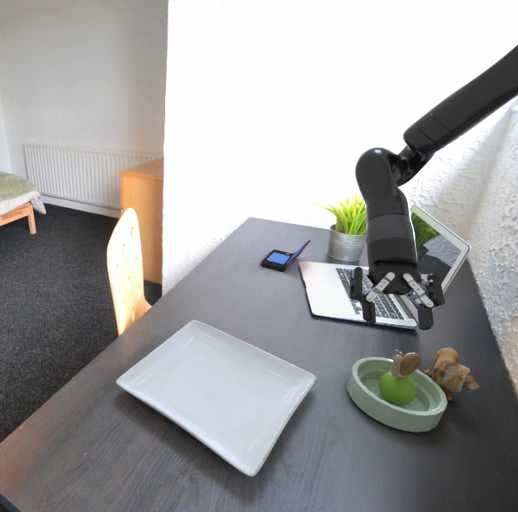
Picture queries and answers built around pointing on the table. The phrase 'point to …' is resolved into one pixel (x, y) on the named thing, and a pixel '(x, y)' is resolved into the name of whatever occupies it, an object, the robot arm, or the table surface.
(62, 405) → the table surface
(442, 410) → the dish
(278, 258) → the handheld console
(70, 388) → the table surface
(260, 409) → the square plate
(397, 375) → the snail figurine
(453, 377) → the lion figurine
